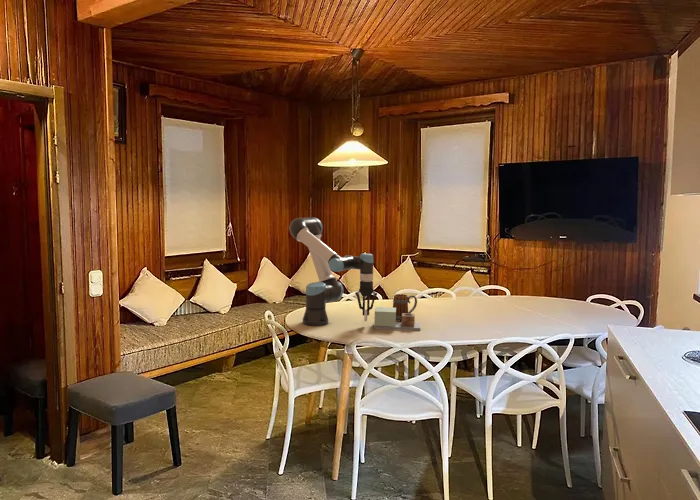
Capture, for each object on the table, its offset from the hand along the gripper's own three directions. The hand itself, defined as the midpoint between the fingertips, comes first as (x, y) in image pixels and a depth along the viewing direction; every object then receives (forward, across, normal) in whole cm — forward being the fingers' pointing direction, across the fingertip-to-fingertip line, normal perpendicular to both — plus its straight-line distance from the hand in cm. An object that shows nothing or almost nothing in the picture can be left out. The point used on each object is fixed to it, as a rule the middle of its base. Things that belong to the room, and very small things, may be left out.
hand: (365, 320), depth 318 cm
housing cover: (+1, +11, 0) cm, 11 cm away
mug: (+3, +22, +21) cm, 31 cm away
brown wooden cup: (+2, +24, 0) cm, 24 cm away
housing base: (+3, +18, 0) cm, 19 cm away
